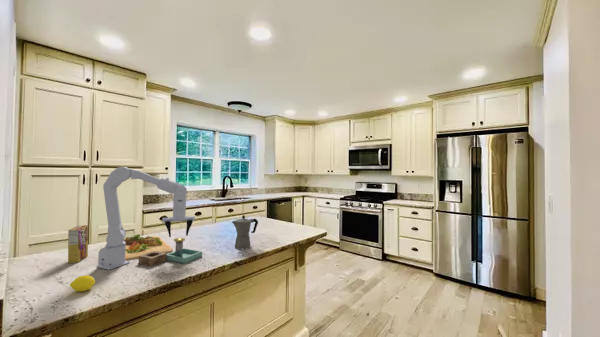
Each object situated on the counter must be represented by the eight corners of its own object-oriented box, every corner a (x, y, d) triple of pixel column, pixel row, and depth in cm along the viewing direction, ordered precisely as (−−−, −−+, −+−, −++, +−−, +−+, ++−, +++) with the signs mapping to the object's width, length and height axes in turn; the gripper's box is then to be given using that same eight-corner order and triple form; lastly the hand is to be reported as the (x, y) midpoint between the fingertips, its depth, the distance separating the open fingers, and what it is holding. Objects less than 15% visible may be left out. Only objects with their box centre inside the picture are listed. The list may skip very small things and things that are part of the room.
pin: (178, 259, 122) (179, 240, 122) (171, 258, 124) (171, 239, 124) (186, 256, 127) (187, 238, 127) (178, 255, 129) (179, 237, 129)
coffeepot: (233, 250, 141) (234, 217, 141) (229, 245, 149) (230, 214, 149) (260, 247, 148) (261, 215, 148) (254, 242, 156) (255, 213, 156)
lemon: (93, 287, 95) (96, 272, 96) (93, 292, 91) (97, 277, 92) (68, 289, 91) (72, 274, 92) (67, 295, 87) (71, 279, 87)
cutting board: (173, 253, 135) (174, 238, 135) (119, 263, 120) (120, 246, 120) (157, 238, 161) (157, 226, 161) (111, 244, 146) (111, 231, 146)
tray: (184, 263, 119) (184, 258, 119) (165, 260, 123) (165, 254, 123) (202, 256, 130) (202, 251, 130) (184, 253, 134) (184, 248, 134)
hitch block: (151, 266, 115) (151, 258, 115) (138, 263, 118) (138, 255, 118) (166, 260, 123) (166, 253, 123) (153, 258, 125) (154, 250, 125)
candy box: (77, 256, 124) (78, 225, 124) (88, 256, 125) (89, 224, 125) (66, 263, 115) (67, 229, 115) (78, 262, 117) (79, 229, 117)
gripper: (162, 210, 122) (161, 239, 121) (195, 209, 128) (194, 236, 128) (163, 208, 128) (162, 235, 128) (194, 207, 134) (193, 233, 134)
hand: (178, 235), depth 128 cm, fingers open, 7 cm apart
